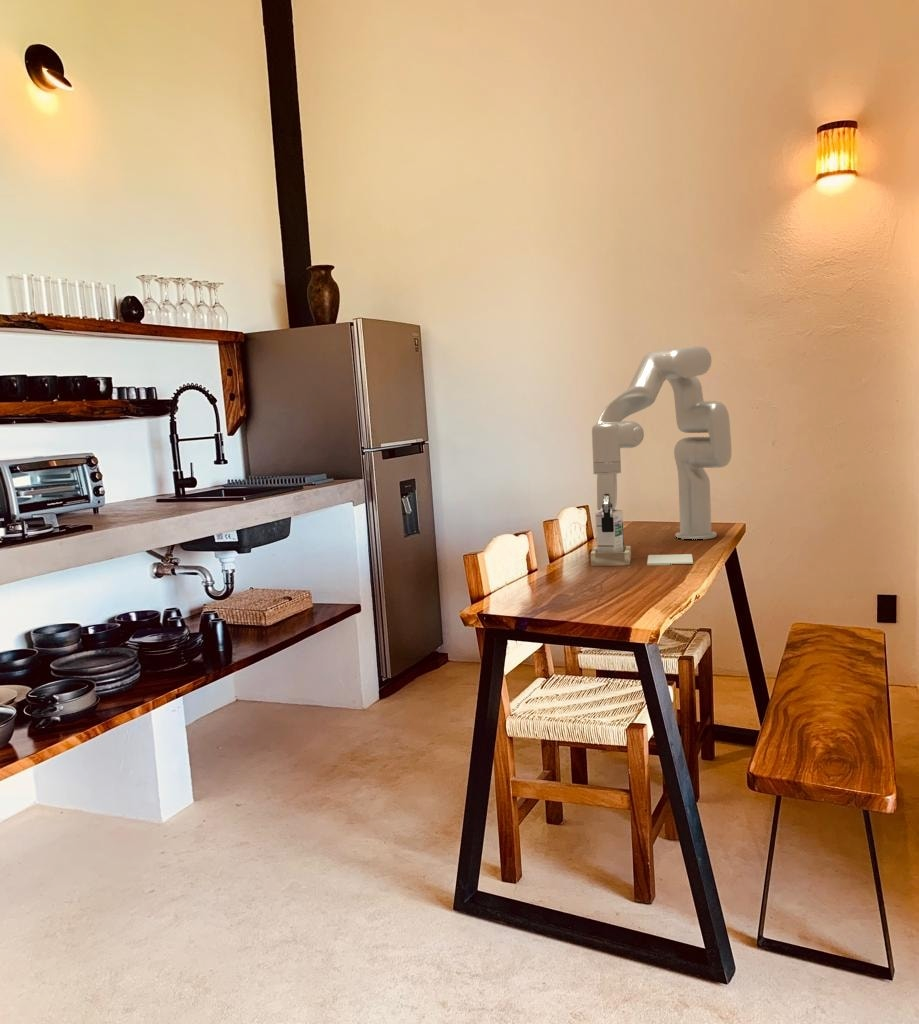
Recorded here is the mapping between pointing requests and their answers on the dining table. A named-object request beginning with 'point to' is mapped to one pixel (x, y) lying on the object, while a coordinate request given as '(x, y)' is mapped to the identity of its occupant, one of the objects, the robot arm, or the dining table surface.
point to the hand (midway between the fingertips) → (609, 529)
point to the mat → (670, 559)
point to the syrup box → (610, 534)
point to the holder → (610, 557)
